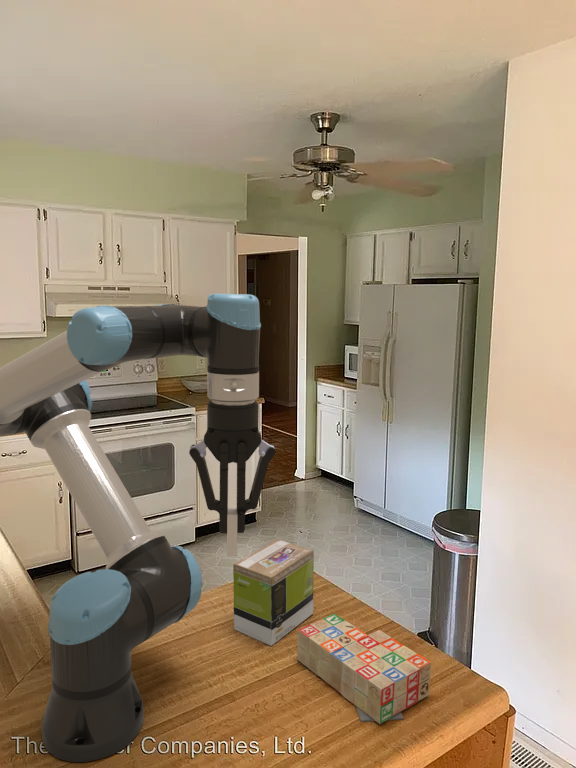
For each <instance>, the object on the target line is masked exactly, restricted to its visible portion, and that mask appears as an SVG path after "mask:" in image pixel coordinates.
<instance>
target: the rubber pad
mask: <svg viewBox="0 0 576 768" xmlns="http://www.w3.org/2000/svg"><path fill="white" fill-rule="evenodd" d="M354 706H355V708H356V711H357V714H358V718H359V721H360V723H366V722H376V721H375V720H374V719H373V718H371V717H370V716H369V715H368V714H366V713H365V712H363V711H362V710H361V709H359V708H358V707H357V706H356V705H354ZM398 720H399V721H401V720H404V716H403V713H402V711H401V712H399V713H397V714H396V715H394V716H393V717H391V718H390V719H388V720H387V721H398Z"/></svg>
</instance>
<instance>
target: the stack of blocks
mask: <svg viewBox="0 0 576 768" xmlns="http://www.w3.org/2000/svg"><path fill="white" fill-rule="evenodd" d="M296 640H297V643H296V644H297V646H296V647H297V650H296V651H297V652H296V653H297V654H296V655H297V656H296V657H297V658H296V660H297V661H299V663H301V664H302V665H303V666H305V667H307V668H308V669H309V670H310V671H311V672H313V673H314V674H315V675H316V676H318V677H320V678H321V679H322V680H323V681H325V683H327V684H329V685H330V687H332V688H333V689H334V690H336V691H337V692H338V693H340V695H342V697H344V698H345V699H346V700H348V701H349V702H350V703H352V704H354V706H355V705H356V706H357V707H358V708H359V709H361V710H362V711H363V712H365V713H366V714H368V715H369V716H370V717H371V718H373V719H374V720H375V721H374V722H376V723H378V724H379V725H380V724H383V723H384V722H386V721H389V720H388V719H390V718H391V717H393V716H394V715H396V714H397V713H399V712H401V713H402V711H404V710H407V709H408V708H410V707H412V706H414V705H415V704H416V703H418V702H419V701H421V700H423V699H425V698H427V697H428V696H430V687H431V685H430V684H431V670H432V661H431V660H430V659H429V660H428V659H427V658H426V657H424V656H422V655H420V654H419V653H416V652H415V651H414V650H412V649H410V648H409V647H407V646H405V645H403V644H402V643H401V642H398V641H397V640H396V639H394V638H393V637H392V636H390V635H388V634H386V633H385V632H384V631H382V630H380V629H377V630H376V631H374V632H371V633H368V634H366V633H365V631H364V632H363V631H362V630H361V629H359V628H358V627H356V626H355V625H353V624H352V623H350V622H348V621H347V620H344V618H342V617H341V616H338V615H337V614H336V613H332V614H330V615H328V616H325V617H322V619H320V620H317V621H314V622H312V623H310V624H308V625H305V626H303V627H301V628H299V629H297V639H296ZM356 706H355V707H356Z"/></svg>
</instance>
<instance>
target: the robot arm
mask: <svg viewBox="0 0 576 768" xmlns="http://www.w3.org/2000/svg"><path fill="white" fill-rule="evenodd" d="M206 304H207V305H206V306H196V305H184V304H183V305H182V304H178V303H177V304H176V303H175V304H174V303H164V304H163V303H162V304H156V305H140V306H139V305H138V306H137V305H135V306H134V305H126V306H121V305H120V306H119V305H117V306H116V305H115V306H113V305H112V306H111V305H97V306H93V307H86V308H81V309H79V310H77V311H76V312H74V313H73V315H72V316H71V320H70V321H69V322H68V324H67V327H66V328H67V329H66V330H65V331H63V332H61V333H60V334H58V335H56V336H55V337H52V338H51V339H49V340H47V341H45V342H43V343H42V344H40V345H38V346H37V347H34V348H32V349H31V350H29V351H28V352H26V353H24V354H22V355H21V356H18V357H16V358H15V359H13V360H11V361H10V362H7V363H6V364H5V365H2V366H1V367H0V437H5V436H12V435H17V434H21V433H24V434H26V436H27V438H28V439H29V441H30V443H31V445H32V446H33V447H34V448H39V449H42V450H45V451H46V454H47V455H48V457H49V459H50V461H51V462H52V464H53V466H54V467H55V470H56V471H57V473H58V474H59V476H60V478H61V479H62V482H63V483H64V485H65V487H66V489H67V490H68V492H69V494H70V496H71V497H72V499H73V501H74V503H75V504H76V506H77V508H78V510H79V511H80V513H81V515H82V516H83V518H84V520H85V523H86V524H87V526H88V528H89V529H90V530H91V532H92V534H93V536H94V538H95V540H96V542H97V543H98V545H99V546H100V548H101V550H102V553H103V554H104V555H105V557H106V559H107V563H106V565H105V568H102V569H97V570H95V571H94V572H92V571H86V572H84V573H83V572H82V573H80V574H78V575H76V576H73V577H72V578H70V579H68V580H67V581H66V582H64V583H63V584H62V585H61V586H59V588H58V589H57V590H55V593H54V594H53V595H52V598H51V600H50V604H49V618H48V624H47V625H48V627H47V629H48V633H49V638H50V639H49V641H50V644H49V645H50V662H51V663H50V664H51V683H52V685H51V686H52V687H51V692H50V694H49V697H48V699H47V700H48V701H47V703H46V708H45V709H44V710H45V711H44V713H43V715H42V720H41V738H42V744H43V746H44V748H45V749H46V751H47V752H48V753H49V754H50V755H52V756H53V757H55V758H57V759H59V760H62V761H65V762H66V761H67V762H73V763H86V762H93V761H97V760H102V759H105V758H107V757H110V756H112V755H114V754H116V753H118V752H120V751H121V750H123V749H124V748H126V747H127V746H128V745H129V744H130V743H132V742H133V741H134V739H136V737H137V736H138V735H139V734H140V731H142V727H143V723H144V718H145V717H144V713H145V712H144V708H145V707H144V702H143V701H144V700H143V698H142V696H141V693H140V691H139V688H138V685H137V683H136V680H135V677H134V676H133V673H132V651H133V649H135V648H136V647H138V646H140V645H141V644H143V643H145V642H146V641H147V640H149V639H151V638H152V637H153V636H156V635H157V634H159V633H160V632H162V631H164V630H165V629H166V628H168V627H169V626H171V625H173V624H177V623H179V622H180V621H181V620H182V619H184V617H185V616H186V615H188V614H189V613H190V612H193V610H194V609H195V608H196V607H197V605H198V604H199V601H200V600H201V597H202V587H203V576H202V571H201V568H200V565H199V562H198V561H197V559H196V557H195V556H194V554H193V553H192V552H191V551H190V550H188V549H187V548H185V549H184V547H182V546H179V545H171V544H170V542H169V541H168V539H167V537H166V536H165V534H161V533H157V532H153V531H152V530H151V528H150V527H149V525H148V524H147V522H146V520H145V519H144V517H143V515H142V513H141V511H140V510H139V509H138V507H137V505H136V503H135V502H134V500H133V498H132V496H131V495H130V494H129V491H128V490H127V488H126V487H125V485H124V482H122V479H121V478H120V477H119V475H118V473H117V471H116V470H115V468H114V466H113V465H112V463H111V461H110V460H109V459H108V457H107V455H106V453H105V452H104V450H103V448H102V447H101V445H100V443H99V441H98V439H97V438H96V436H95V434H94V433H93V431H92V429H91V428H90V427H89V425H90V421H91V420H92V413H91V410H92V407H93V398H92V397H91V396H90V395H91V394H92V391H91V388H90V385H89V383H88V382H87V380H88V379H90V378H93V377H94V376H97V375H99V374H101V373H103V372H106V371H108V370H110V369H112V368H115V367H118V366H119V365H122V364H124V363H127V362H131V361H140V360H147V359H157V358H166V357H176V356H191V357H201V358H206V366H207V372H206V375H207V377H206V379H207V380H206V381H207V384H206V387H207V389H206V391H207V398H208V399H209V401H208V402H207V404H206V405H207V407H206V409H207V412H206V416H207V417H206V420H207V421H206V432H205V433H204V436H203V440H201V441H200V442H198V443H196V444H191V445H190V447H189V452H188V453H189V456H190V457H191V458H192V460H193V462H194V463H195V464H196V468H197V471H198V476H199V479H200V484H201V488H202V491H203V495H204V499H205V503H206V507H207V510H209V511H215V512H217V513H218V515H219V519H218V520H219V525H218V526H219V532H220V534H226V557H238V534H243V533H245V531H246V530H245V529H246V527H245V526H246V513H247V512H248V511H251V510H256V509H257V508H258V504H259V501H260V496H261V493H262V490H263V486H264V481H265V479H266V475H267V471H268V467H269V464H270V463H271V460H272V459H273V458H274V456H275V455H276V452H277V451H276V448H275V446H274V444H272V443H268V442H266V441H265V440H264V439H262V435H261V432H260V431H259V415H260V414H259V410H260V409H259V407H260V406H259V403H258V402H257V399H258V398H259V397H260V365H259V364H260V363H259V360H260V359H259V357H260V341H261V340H260V339H261V338H260V337H261V327H262V323H261V322H260V321H261V318H260V317H261V316H260V301H259V298H258V297H257V296H256V295H253V294H248V293H247V294H246V293H239V294H238V293H211V294H209V295H208V297H207V302H206ZM258 448H259V449H258ZM206 449H208V450H209V452H210V453H211V455H213V457H214V458H215V459H216V461H217V462H219V499H216V497H215V492H214V489H213V484H212V480H211V475H210V473H209V469H208V465H207V461H206V456H207V450H206ZM257 449H258V455H259V459H258V462H257V466H256V469H255V473H254V477H253V482H252V485H251V488H250V492H249V496H248V498H246V473H247V472H246V471H247V470H246V468H247V467H246V466H247V465H246V464H247V461H249V459H250V458H251V457H252V456H253V454H254V453H255V452H256V450H257ZM231 463H234V464H236V508H235V507H234V508H233V507H232V508H229V505H228V504H229V503H228V501H229V499H228V498H229V464H231Z"/></svg>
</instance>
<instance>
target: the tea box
mask: <svg viewBox="0 0 576 768" xmlns="http://www.w3.org/2000/svg"><path fill="white" fill-rule="evenodd" d="M314 553H315V551H314V550H313V549H312V548H311V549H310V548H307V547H304V546H300V545H297V544H293V543H291V542H288V541H284V540H280V539H278V538H276V539H274V540H273V541H271V542H269V543H267V544H266V545H263V546H262V547H260V548H259V549H256V550H255V551H253V552H252V553H249V554H248V555H246V556H244V557H242V558H241V559H239V560H238V561H236V562H234V563H233V565H232V566H233V570H232V571H233V572H232V574H233V578H232V579H233V586H232V588H233V629H234V630H235V631H237V632H239V633H241V634H243V635H244V636H245V635H246V636H247V637H249V638H252V639H254V640H255V641H256V640H257V641H259V642H261V643H263V644H265V645H268V646H270V647H271V646H273V645H275V644H276V643H277V642H278V641H280V640H281V639H282V638H283V637H285V636H286V635H287V634H288V633H290V632H292V631H293V630H294V629H295V628H297V627H298V626H299V625H301V624H302V623H303V622H304V621H305V620H307V619H308V618H309V617H310V616H312V615H313V614H314V590H315V589H314V585H315V584H314V583H315V582H314V579H315V578H314V570H315V569H314V568H315V567H314V565H315V564H314V562H315V561H314Z"/></svg>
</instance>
